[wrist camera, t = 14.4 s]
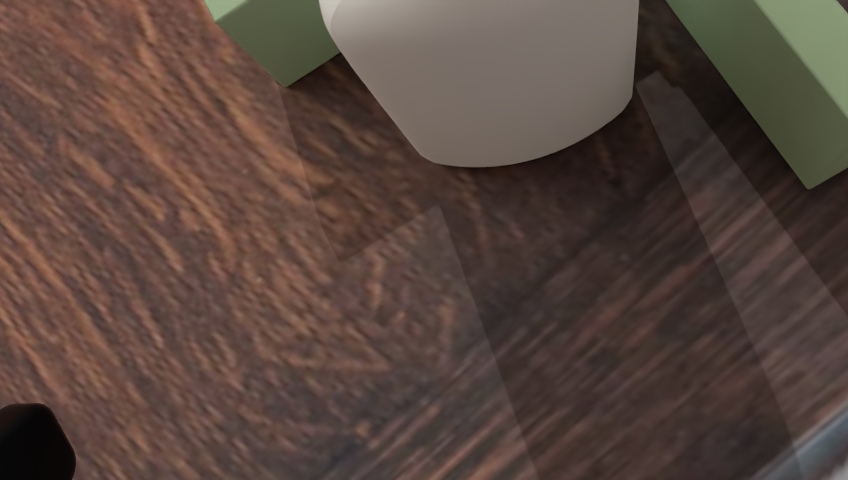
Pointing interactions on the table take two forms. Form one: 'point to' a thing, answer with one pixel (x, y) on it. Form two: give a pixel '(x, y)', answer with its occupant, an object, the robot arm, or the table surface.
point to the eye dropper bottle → (491, 71)
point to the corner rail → (704, 19)
